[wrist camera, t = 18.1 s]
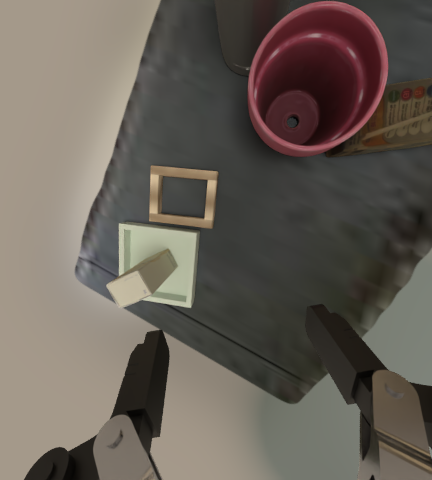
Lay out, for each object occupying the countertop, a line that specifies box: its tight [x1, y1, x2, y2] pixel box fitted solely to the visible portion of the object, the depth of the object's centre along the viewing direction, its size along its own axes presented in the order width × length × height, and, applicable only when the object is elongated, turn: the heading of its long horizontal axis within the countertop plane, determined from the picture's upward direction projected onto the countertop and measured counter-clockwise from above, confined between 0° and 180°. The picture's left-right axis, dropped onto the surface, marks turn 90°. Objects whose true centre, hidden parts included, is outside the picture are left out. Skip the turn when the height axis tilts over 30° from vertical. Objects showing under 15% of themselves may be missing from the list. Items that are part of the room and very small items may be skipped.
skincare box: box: [106, 249, 178, 308], centre depth 36 cm, size 6×4×12 cm
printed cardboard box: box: [326, 78, 432, 157], centre depth 29 cm, size 8×19×7 cm, turn 96°
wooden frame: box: [149, 166, 219, 229], centre depth 38 cm, size 10×12×2 cm
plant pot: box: [248, 1, 388, 157], centre depth 28 cm, size 14×14×13 cm
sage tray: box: [119, 222, 200, 308], centre depth 41 cm, size 15×15×3 cm
